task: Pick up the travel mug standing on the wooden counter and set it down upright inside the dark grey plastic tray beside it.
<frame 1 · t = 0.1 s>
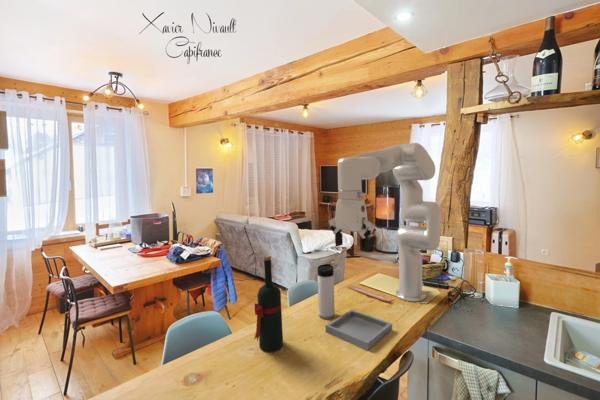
hand: (351, 247, 99), 31 cm above the breakfast bar, tool pointing down, fingers open, 9 cm apart
travel mug: (326, 315, 118), on the breakfast bar
wine bottle: (268, 347, 98), on the breakfast bar
tray: (358, 331, 106), on the breakfast bar
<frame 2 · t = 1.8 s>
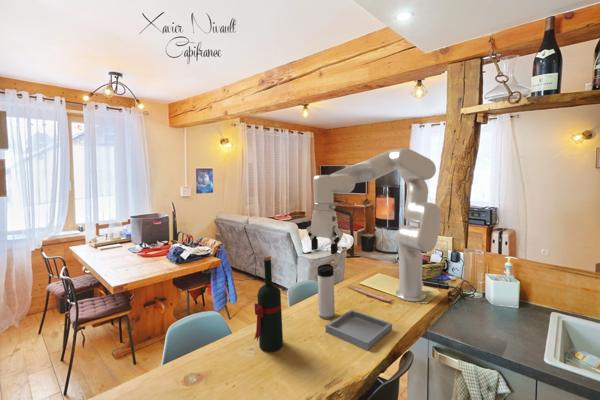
hand: (324, 251, 116), 26 cm above the breakfast bar, tool pointing down, fingers open, 9 cm apart
nothing on the breakfast bar moved.
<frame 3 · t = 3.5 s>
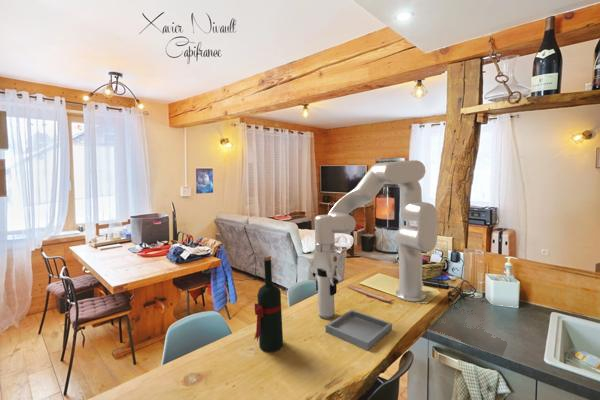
hand: (326, 291, 117), 10 cm above the breakfast bar, tool pointing down, fingers closed on travel mug, 6 cm apart
travel mug: (326, 315, 118), on the breakfast bar, touching gripper
everything else where it was.
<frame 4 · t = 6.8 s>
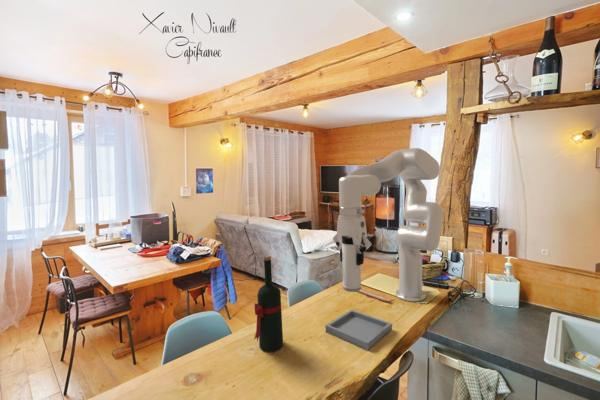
hand: (351, 262, 106), 24 cm above the breakfast bar, tool pointing down, fingers closed on travel mug, 6 cm apart
travel mug: (352, 289, 107), point 15 cm above the breakfast bar, touching gripper
everything else where it was.
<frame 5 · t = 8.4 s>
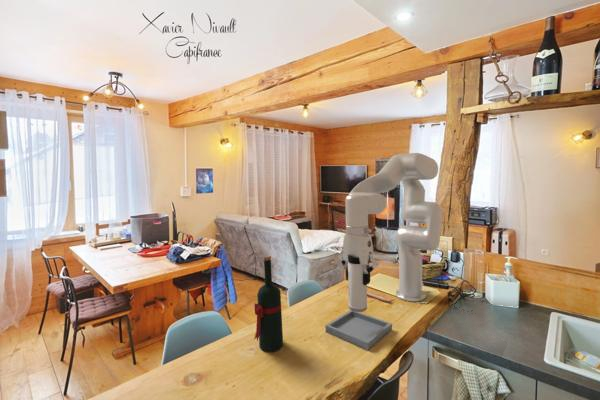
hand: (357, 281, 104), 18 cm above the breakfast bar, tool pointing down, fingers closed on travel mug, 6 cm apart
travel mug: (357, 308, 105), point 8 cm above the breakfast bar, touching gripper
everything else where it was.
when the fingers open (12 cm above the breakfast bar, at t = 10.0 s): travel mug drops 1 cm, resting on tray.
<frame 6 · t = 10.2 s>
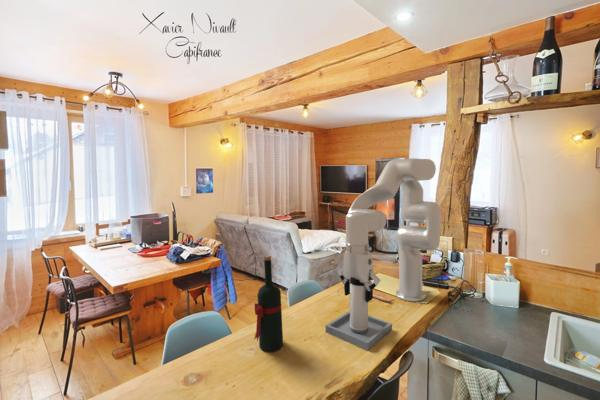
hand: (358, 297, 105), 12 cm above the breakfast bar, tool pointing down, fingers open, 8 cm apart
travel mug: (359, 329, 106), point 1 cm above the breakfast bar, touching tray
everything else where it was.
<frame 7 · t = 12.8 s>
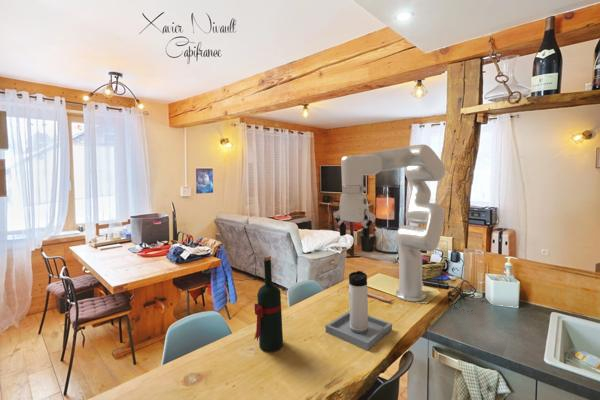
hand: (354, 236, 110), 32 cm above the breakfast bar, tool pointing down, fingers open, 9 cm apart
nothing on the breakfast bar moved.
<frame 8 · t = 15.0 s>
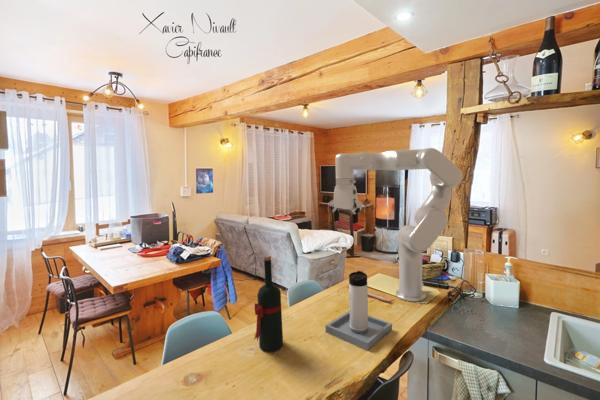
hand: (345, 222, 130), 34 cm above the breakfast bar, tool pointing down, fingers open, 9 cm apart
nothing on the breakfast bar moved.
at the end: travel mug inside the target area on the tray (0.2 cm from its centre), point 0.6 cm above the tray's base; travel mug tilted 0°; the gripper is holding nothing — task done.
